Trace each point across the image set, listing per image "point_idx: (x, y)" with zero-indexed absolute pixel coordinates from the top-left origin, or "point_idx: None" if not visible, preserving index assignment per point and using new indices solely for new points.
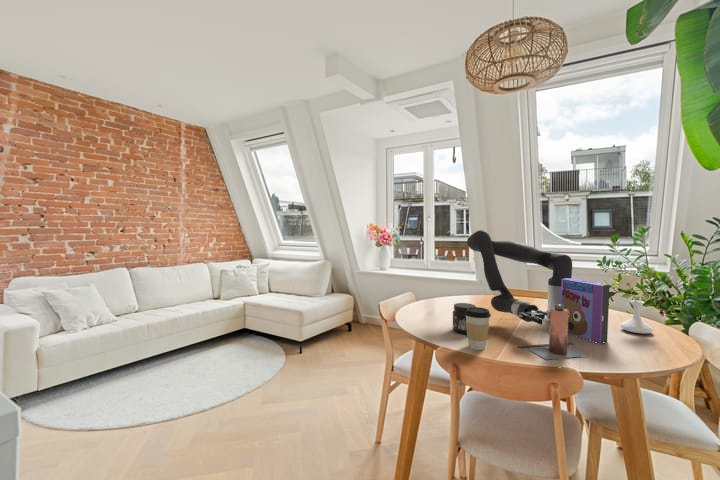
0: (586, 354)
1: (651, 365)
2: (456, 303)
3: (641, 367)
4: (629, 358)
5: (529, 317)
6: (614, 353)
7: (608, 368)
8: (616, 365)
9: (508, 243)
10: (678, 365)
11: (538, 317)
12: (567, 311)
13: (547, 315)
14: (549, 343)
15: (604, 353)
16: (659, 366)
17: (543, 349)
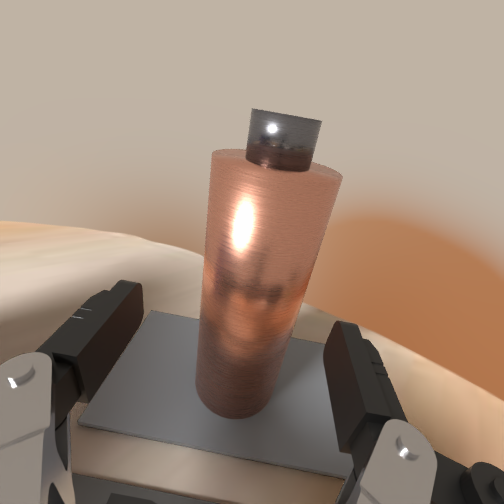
0: (148, 319)
1: (76, 239)
2: None
3: (116, 243)
4: (51, 267)
5: (460, 468)
6: (20, 299)
7: (199, 264)
8: (157, 264)
9: None
10: (20, 222)
11: (353, 363)
12: (245, 150)
13: (59, 470)
14: (278, 371)
15: (53, 311)
16: (69, 233)
17: (280, 433)
